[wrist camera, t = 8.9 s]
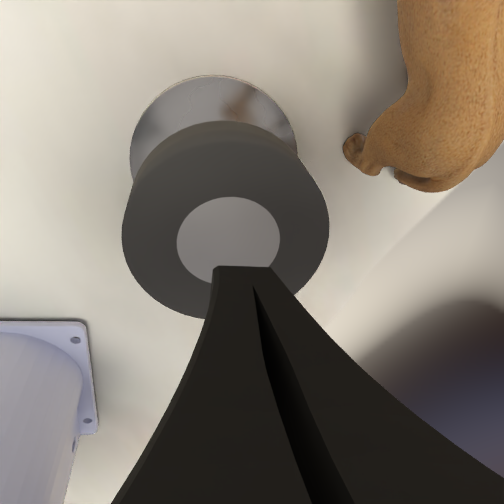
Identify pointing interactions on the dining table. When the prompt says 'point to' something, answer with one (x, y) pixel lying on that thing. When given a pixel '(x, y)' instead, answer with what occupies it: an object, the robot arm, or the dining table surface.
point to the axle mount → (205, 112)
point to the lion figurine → (441, 96)
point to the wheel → (221, 213)
